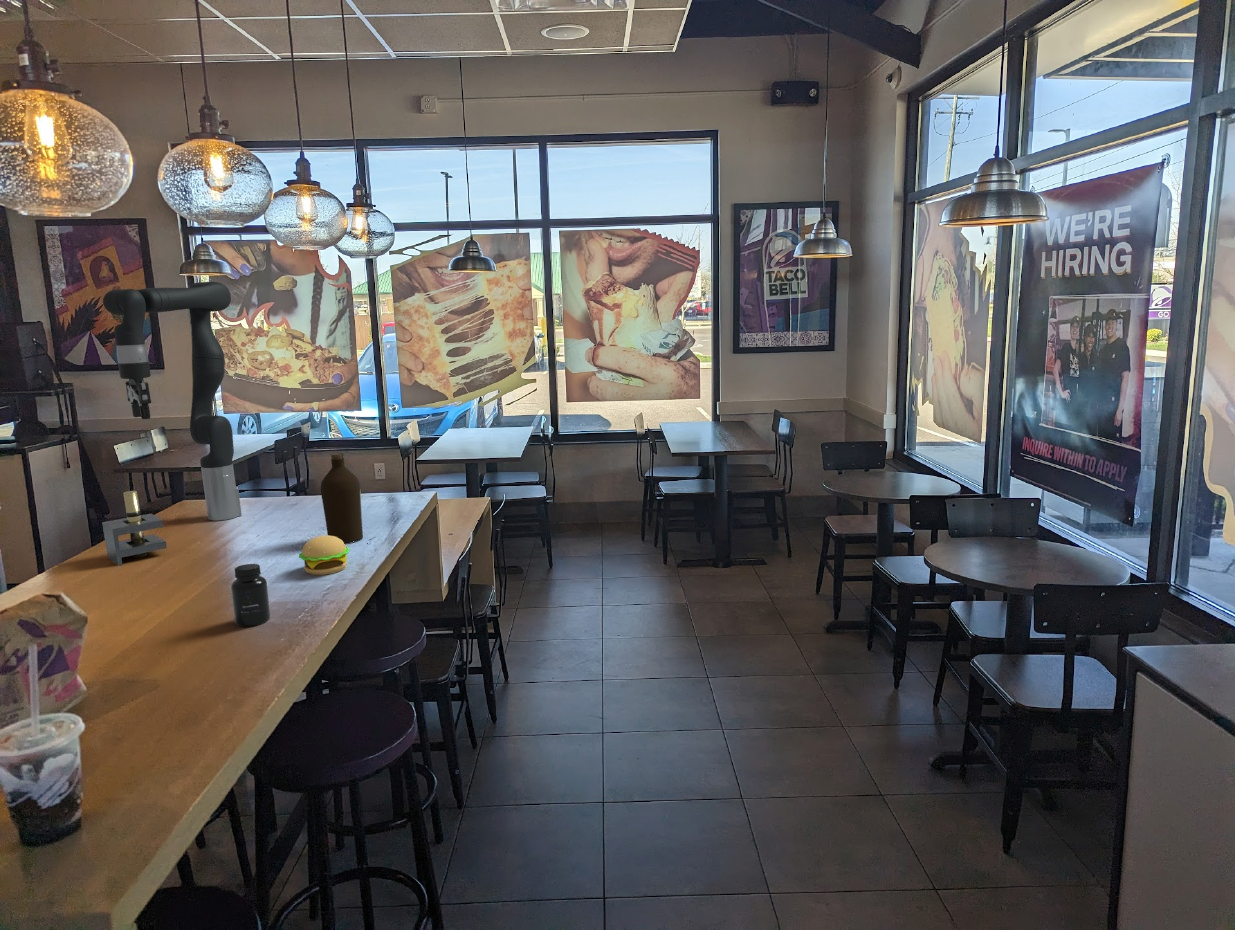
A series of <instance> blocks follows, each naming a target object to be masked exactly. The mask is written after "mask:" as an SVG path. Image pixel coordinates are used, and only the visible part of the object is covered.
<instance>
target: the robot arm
mask: <svg viewBox="0 0 1235 930" xmlns="http://www.w3.org/2000/svg"><path fill="white" fill-rule="evenodd" d="M231 301H232V295H231V292H230V290H229V288H228V287H227V286H226V285H225V284H224V283H222V282H218V281H201V282H200V281H199V282H194V283H192V284H191V285H190V286H189V287H148V288H140V289H134V288H125V289H124V288H122V289H121V288H120V289H112V290H109V291H107V292H106V293H105V294H104V296H103V298H102V305H103V307H104V308H105V309H106V311H107V312H108V313H110V314H112V315H115V316H122V322H121V323H120V324H117V325H115V327H114V329H113V330H114V339H115V346H116V359H117V363H118V364H117V365H118V371H119V377H120V379H121V380H126V381H125V388H126V394H127V395H126V396H127V402H128V403H129V404H130V405H131V411H132V416H133V417H134V418H141V419H142V420H149V419H151V411H150V404H152V400H151V393H150V387H149V383H148V381H147V382H145V380H144V379H147V378H150V377H151V367H150V362H149V361H150V360H149V354H148V350H147V347H146V341H145V336H144V327H145V320H146V313H147V314H149V313H151V314H154V313H156V314H157V313H167V312H174V311H175V312H176V311H183V310H188V313H189V320H190V329H191V332H190V333H191V372H192V390H191V392H192V397H191V410H190V411H191V412H190V421H189V433H190V436H191V438H192V441H194V442H195V443H196V444H198V445H207V446H208V445H209V452H208V454H207V455H204V456H202V457H201V458H200V470H201V477H202V483H203V490H204V497H205V498H204V500H205V504H206V505H205V506H206V512H207V513H206V514H207V519H208V520H209V521H224V520H225V521H227V520H230V519H235V518H238V517H241V516H243V515H242V507H241V499H240V498H241V497H240V492H239V491H240V490H239V487H238V486H236V484H237V483H236V478H235V471H234V464H233V458H234V454H235V450H234V448H235V447H234V437H233V436H234V435H233V434H234V433H233V428H232V424H231V422H230V420H229V419H228V418H227V417H225V416H222V415H213V401H214V398H215V396H216V394H217V391H218V390H219V387H220V386H221V384H222V382H223V380H224V377H225V373H226V372H225V353H224V351H223V348H222V346H221V344H220V342H219V340H218V339H217V337H216V335H215V333H214V331H213V329H212V319H211V318H212V317H211V313H212V312H220V311H224V310H226V309H227V308H228V307H229V306H230V304H231Z"/></svg>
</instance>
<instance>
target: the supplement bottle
mask: <svg viewBox="0 0 1235 930" xmlns="http://www.w3.org/2000/svg"><path fill="white" fill-rule="evenodd" d="M261 574H262V573H261V565H259V564H257V563H245V564H242V565H238V566H236V567H235V568H234V578H236V579H234V581H232V583H231V586H230V587H231V588H230V589H231V597H232V605H233V606H232V608H233V613H234V622H235V624H236V625H237V626H239V627H249V628H250V627H256V626H259V625H262V624H265V623H267V622H268V621H269V620H270V618H271V610H270V601H269V592H268V583H267V579H265V577H263V576H261Z"/></svg>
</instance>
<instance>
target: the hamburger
mask: <svg viewBox="0 0 1235 930" xmlns="http://www.w3.org/2000/svg"><path fill="white" fill-rule="evenodd" d="M349 552H350V548H349V547H348V545H347V546H346V544H344V542H343V541H342V540H341V539H339V538H337V537H335V536H329V535H328V534H327V535H326V534H325V535H323V534H322V535H318V536H315V537H314V538H311V539H309V540H308V541H306V543H305V544H304V545H303V547H302V549H301V552H299V554H298V558H299V559H301V560H302V561H304V567H303V568H304V570H305V572H306V573H307V574H308V575H311V576H326V575H331V574H336V573H339V572H341V571H343V570H345V568H346V566H347V563H348V562H347V559H348V556H347V554H349Z"/></svg>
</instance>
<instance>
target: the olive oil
mask: <svg viewBox="0 0 1235 930" xmlns="http://www.w3.org/2000/svg"><path fill="white" fill-rule="evenodd" d="M330 456H331V459H330V461H331V468H330V469H329V471H328V472H327V473H326V475H325V476H323V479H322V480H321V483H320V495H321V500H322V501H321V502H322V506H323V512H324V519H325V526H326V533H327V535H329V536H335V537H337V538H339V539H341V540H342V541H343V542H344V543H348V544H351V543H350V542H353V541H357V540H359V541H361V540H362V539H363V538H364V532H363V518H362V517H363V516H362V495H361V494H362V493H361V492H362V491H361V484H360V480H359V478H358V477H357V476H356V474H354V472H352V471H351V470H350V469H348V468H347V467H346V466H345V457H344V453H342V452H333V453H331V454H330ZM361 538H362V539H361ZM360 539H361V540H360ZM357 542H358V541H357ZM353 543H354V542H353Z"/></svg>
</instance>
